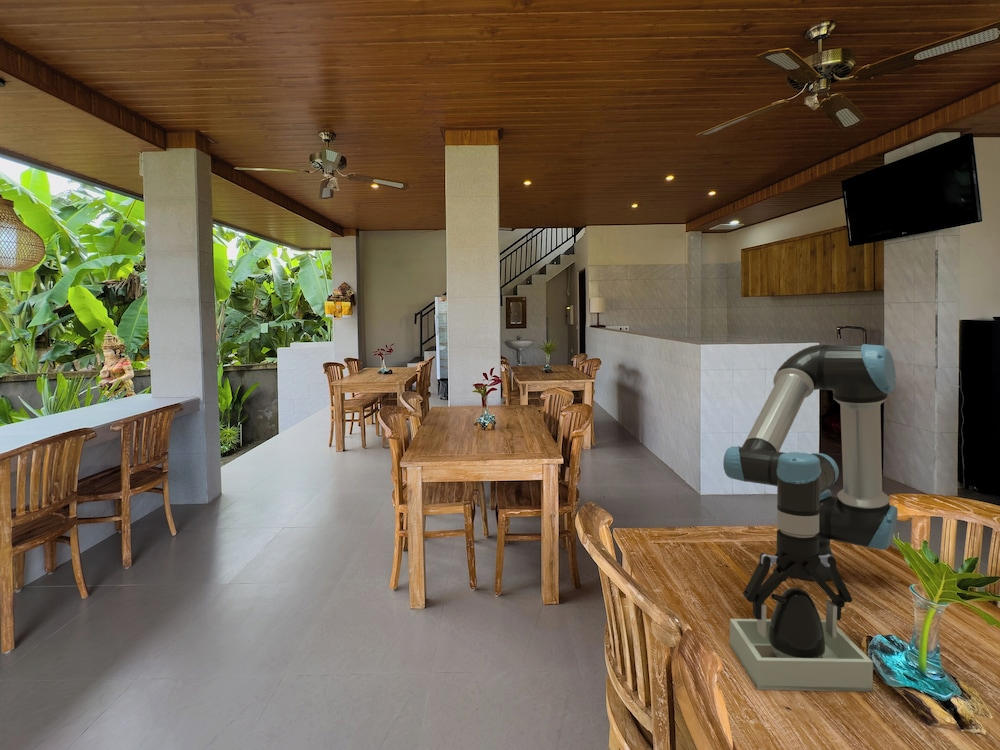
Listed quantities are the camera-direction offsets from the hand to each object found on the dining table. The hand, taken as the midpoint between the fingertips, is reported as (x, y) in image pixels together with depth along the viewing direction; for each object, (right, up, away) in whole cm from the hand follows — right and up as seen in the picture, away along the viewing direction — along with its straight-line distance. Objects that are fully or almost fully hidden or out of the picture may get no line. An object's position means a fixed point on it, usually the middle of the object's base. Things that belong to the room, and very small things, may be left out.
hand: (796, 634), depth 117 cm
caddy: (0, -7, 0) cm, 7 cm away
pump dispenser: (0, -6, 0) cm, 6 cm away
